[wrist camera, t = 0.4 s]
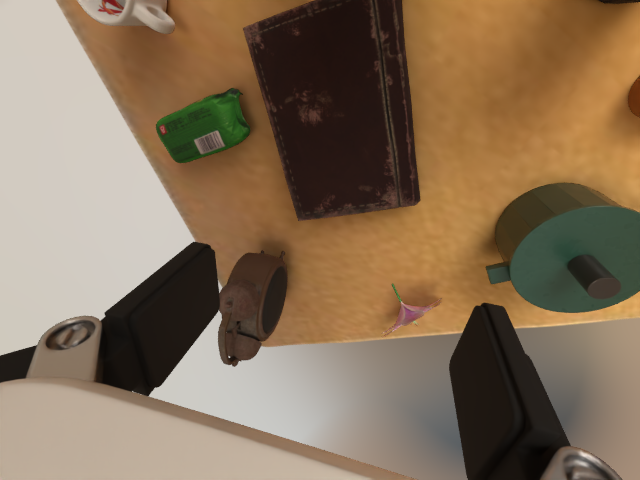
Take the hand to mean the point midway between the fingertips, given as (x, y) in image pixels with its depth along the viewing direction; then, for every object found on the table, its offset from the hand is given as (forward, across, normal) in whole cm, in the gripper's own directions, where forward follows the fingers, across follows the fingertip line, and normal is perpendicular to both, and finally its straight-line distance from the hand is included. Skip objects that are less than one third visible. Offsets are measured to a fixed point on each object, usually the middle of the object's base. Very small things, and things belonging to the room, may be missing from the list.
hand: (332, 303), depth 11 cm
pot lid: (+28, -25, +10) cm, 39 cm away
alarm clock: (+36, +15, +27) cm, 48 cm away
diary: (+36, +6, -1) cm, 37 cm away
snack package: (+36, +26, +2) cm, 44 cm away
